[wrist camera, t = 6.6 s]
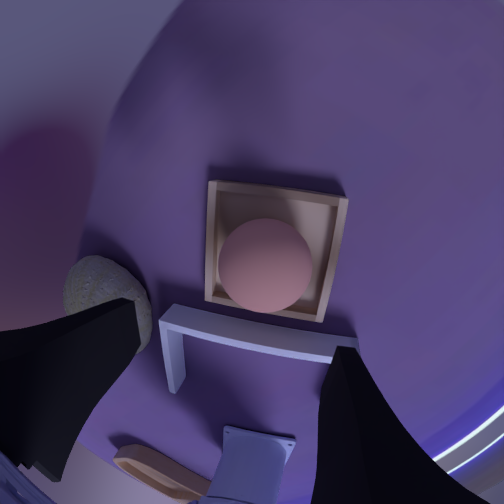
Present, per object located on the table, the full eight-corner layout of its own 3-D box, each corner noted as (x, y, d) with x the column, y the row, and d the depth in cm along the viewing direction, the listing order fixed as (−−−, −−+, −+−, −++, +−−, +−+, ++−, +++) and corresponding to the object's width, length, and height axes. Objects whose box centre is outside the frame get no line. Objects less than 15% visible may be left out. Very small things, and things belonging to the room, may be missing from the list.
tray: (322, 313, 18) (322, 322, 17) (210, 292, 19) (204, 300, 18) (346, 196, 15) (348, 199, 14) (215, 179, 16) (208, 181, 15)
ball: (304, 292, 17) (302, 338, 13) (229, 280, 18) (203, 320, 13) (317, 216, 16) (322, 241, 11) (234, 205, 16) (205, 224, 12)
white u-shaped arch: (328, 406, 21) (327, 427, 19) (180, 374, 23) (169, 392, 21) (357, 338, 18) (361, 360, 16) (173, 303, 20) (158, 320, 18)
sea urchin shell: (79, 227, 18) (74, 314, 13) (159, 251, 24) (178, 329, 19) (57, 293, 22) (57, 366, 17) (123, 306, 27) (135, 373, 22)
